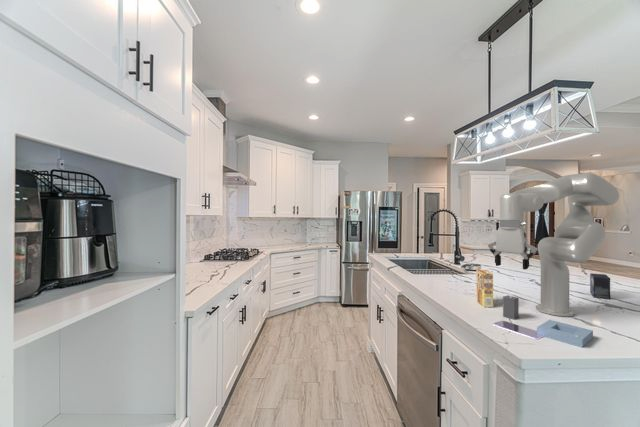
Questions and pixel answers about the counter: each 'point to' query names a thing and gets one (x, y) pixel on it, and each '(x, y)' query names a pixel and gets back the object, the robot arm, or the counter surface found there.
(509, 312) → the block
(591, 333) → the blue square socket base
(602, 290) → the small box
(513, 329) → the mobile phone
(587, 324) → the counter surface
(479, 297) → the candy box
